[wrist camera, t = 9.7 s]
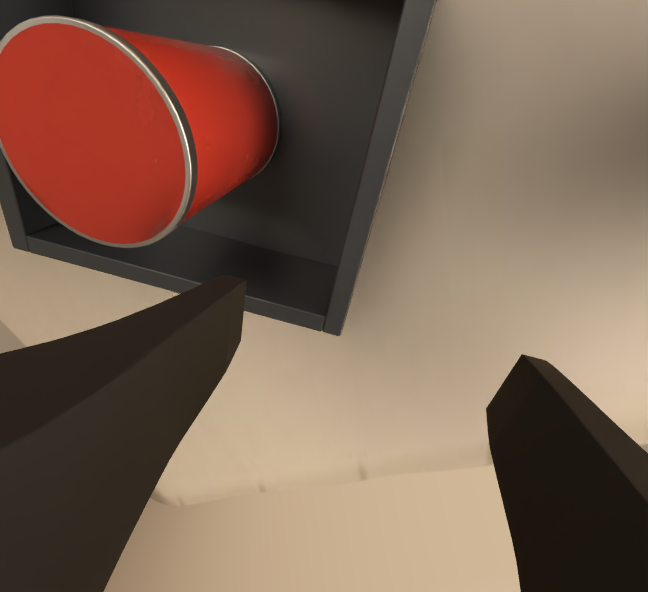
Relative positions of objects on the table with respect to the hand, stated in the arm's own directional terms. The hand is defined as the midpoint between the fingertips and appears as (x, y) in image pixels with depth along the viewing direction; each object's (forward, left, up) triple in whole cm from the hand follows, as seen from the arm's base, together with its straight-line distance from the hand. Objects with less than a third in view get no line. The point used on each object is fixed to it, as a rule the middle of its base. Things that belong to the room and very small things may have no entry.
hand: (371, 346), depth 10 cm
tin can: (+8, -3, -9) cm, 12 cm away
